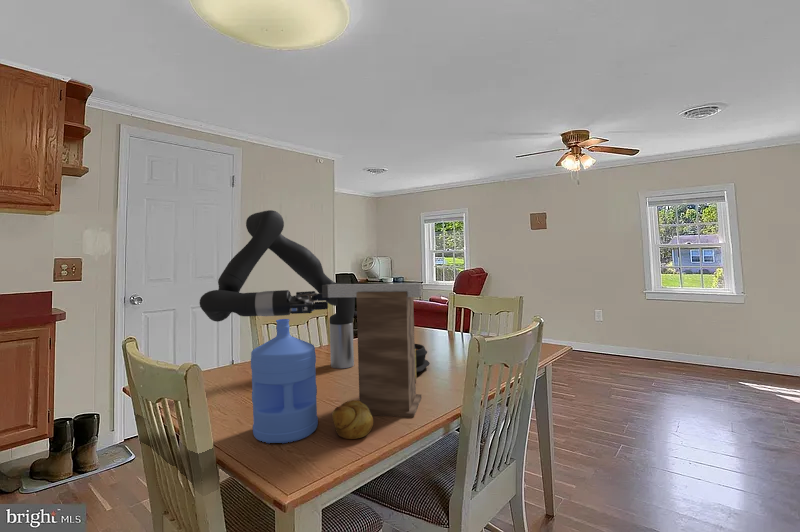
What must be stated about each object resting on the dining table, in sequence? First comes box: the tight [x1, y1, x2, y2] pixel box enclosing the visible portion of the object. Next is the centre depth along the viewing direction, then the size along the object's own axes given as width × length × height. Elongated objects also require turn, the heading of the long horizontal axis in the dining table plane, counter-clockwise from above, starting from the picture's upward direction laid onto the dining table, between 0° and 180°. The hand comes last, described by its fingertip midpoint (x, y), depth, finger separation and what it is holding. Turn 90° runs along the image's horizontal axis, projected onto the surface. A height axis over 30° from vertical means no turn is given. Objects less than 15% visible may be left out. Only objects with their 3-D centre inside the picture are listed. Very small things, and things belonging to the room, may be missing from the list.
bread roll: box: [331, 399, 374, 440], centre depth 100 cm, size 13×10×8 cm
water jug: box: [250, 318, 319, 444], centre depth 100 cm, size 16×16×28 cm
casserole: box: [414, 343, 430, 373], centre depth 154 cm, size 25×19×8 cm
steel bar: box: [322, 282, 422, 298], centre depth 113 cm, size 4×28×4 cm, turn 79°
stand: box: [356, 292, 422, 418], centre depth 116 cm, size 15×17×34 cm
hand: (328, 300), depth 121 cm, fingers open, 8 cm apart
